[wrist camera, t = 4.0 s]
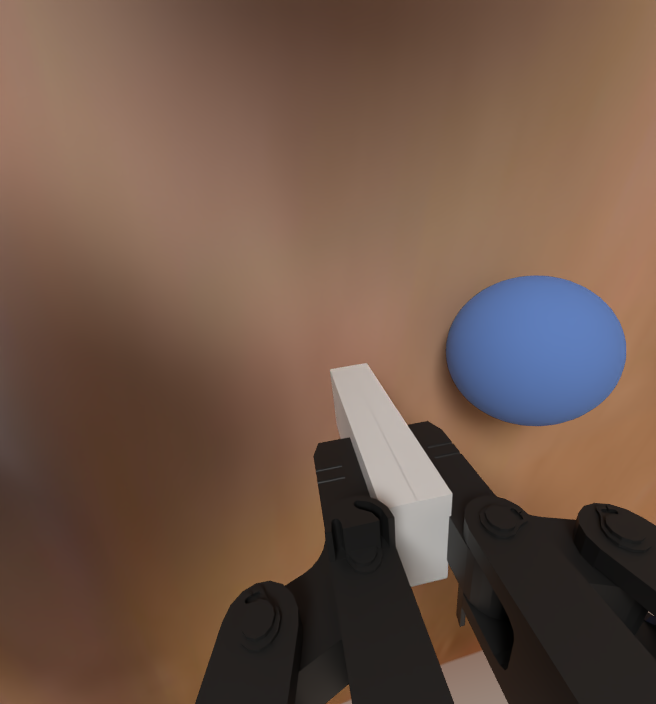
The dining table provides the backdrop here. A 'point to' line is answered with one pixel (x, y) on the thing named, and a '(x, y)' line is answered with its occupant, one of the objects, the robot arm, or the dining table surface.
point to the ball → (536, 350)
